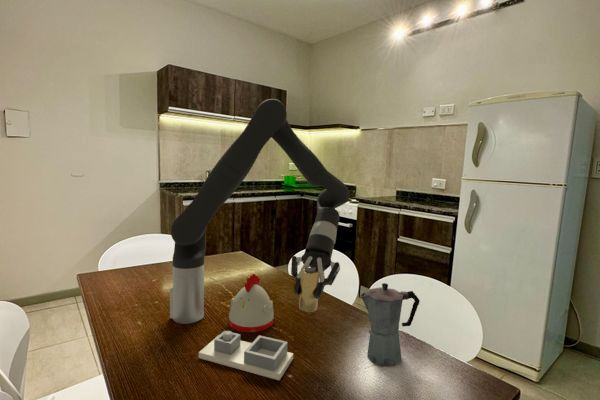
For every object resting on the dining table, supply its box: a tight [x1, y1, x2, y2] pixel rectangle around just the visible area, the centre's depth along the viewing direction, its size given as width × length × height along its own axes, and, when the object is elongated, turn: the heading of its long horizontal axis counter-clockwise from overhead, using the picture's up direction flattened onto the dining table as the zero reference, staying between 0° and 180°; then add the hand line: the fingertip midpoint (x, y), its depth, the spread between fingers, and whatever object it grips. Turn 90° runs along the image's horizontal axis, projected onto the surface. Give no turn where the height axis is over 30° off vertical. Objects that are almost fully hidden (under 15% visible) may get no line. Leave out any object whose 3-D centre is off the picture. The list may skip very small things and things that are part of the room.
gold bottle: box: [298, 265, 320, 313], centre depth 86 cm, size 5×5×11 cm
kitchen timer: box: [228, 273, 275, 333], centre depth 101 cm, size 14×14×15 cm
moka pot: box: [359, 282, 421, 367], centre depth 85 cm, size 10×15×20 cm, turn 95°
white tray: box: [198, 330, 294, 381], centre depth 82 cm, size 22×9×6 cm, turn 71°
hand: (306, 295), depth 84 cm, fingers closed on gold bottle, 4 cm apart
